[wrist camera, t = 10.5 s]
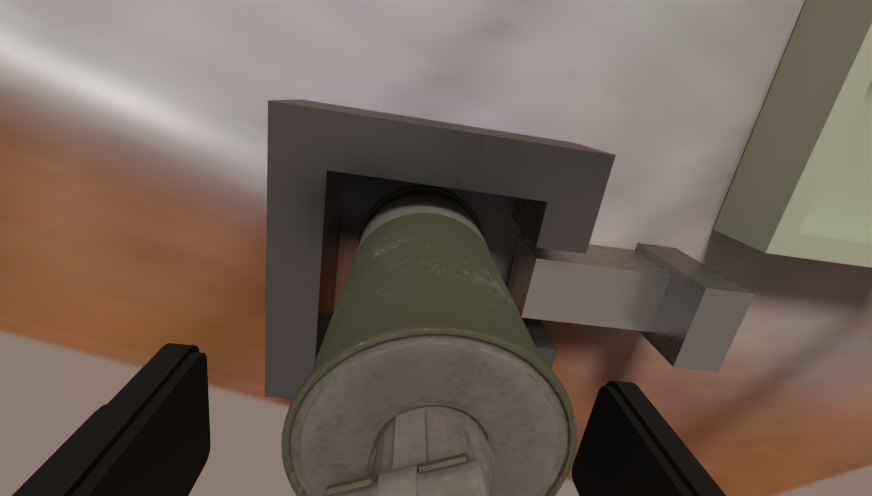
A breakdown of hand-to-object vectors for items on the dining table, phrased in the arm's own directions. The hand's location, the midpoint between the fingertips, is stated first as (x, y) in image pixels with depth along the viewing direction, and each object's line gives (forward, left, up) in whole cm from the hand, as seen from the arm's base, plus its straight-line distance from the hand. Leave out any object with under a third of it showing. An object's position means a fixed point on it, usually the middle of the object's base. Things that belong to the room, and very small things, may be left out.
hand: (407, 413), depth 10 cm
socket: (-1, 0, -11) cm, 11 cm away
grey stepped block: (-9, 0, -11) cm, 14 cm away
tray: (-20, -8, -11) cm, 24 cm away
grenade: (-1, 0, -11) cm, 11 cm away
